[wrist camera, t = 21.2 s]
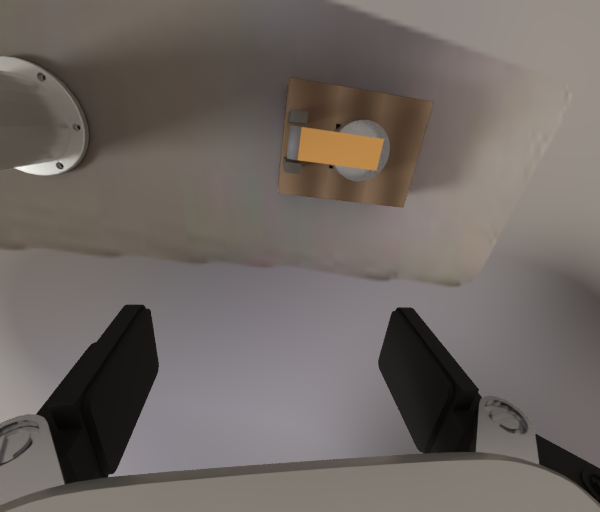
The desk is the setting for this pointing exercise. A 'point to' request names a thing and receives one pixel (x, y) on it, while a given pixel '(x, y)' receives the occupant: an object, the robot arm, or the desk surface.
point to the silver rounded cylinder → (367, 130)
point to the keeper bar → (334, 148)
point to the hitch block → (340, 109)
